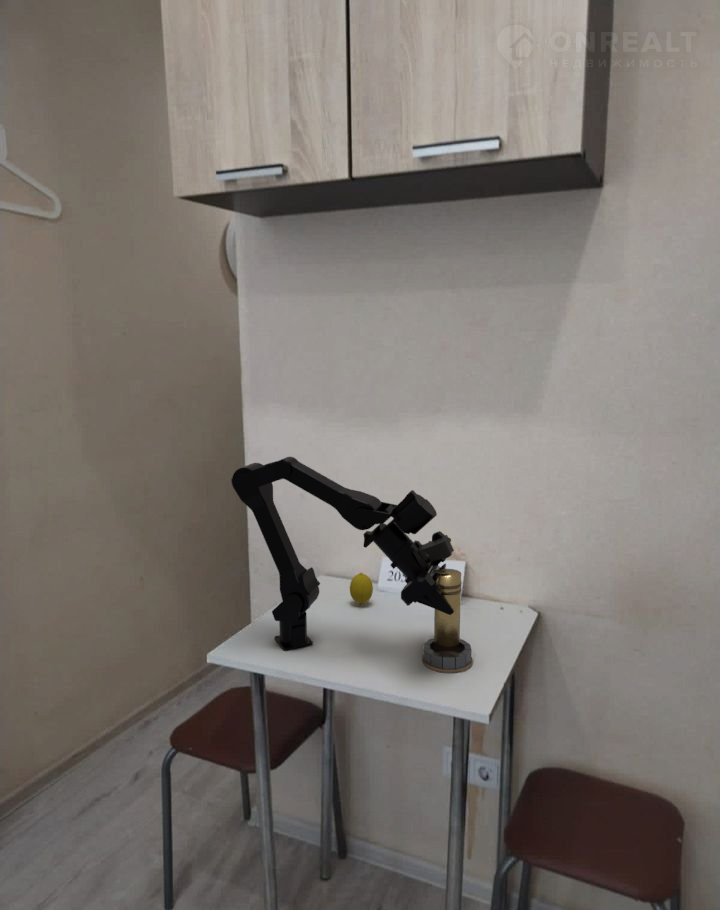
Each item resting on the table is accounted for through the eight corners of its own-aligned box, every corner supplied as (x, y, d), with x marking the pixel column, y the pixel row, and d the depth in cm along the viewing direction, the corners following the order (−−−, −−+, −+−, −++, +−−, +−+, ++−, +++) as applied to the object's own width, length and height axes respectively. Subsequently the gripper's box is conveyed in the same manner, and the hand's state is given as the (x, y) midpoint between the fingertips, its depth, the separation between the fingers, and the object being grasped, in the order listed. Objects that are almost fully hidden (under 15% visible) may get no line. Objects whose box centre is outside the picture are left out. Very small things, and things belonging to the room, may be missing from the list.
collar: (415, 654, 134) (415, 642, 134) (453, 644, 138) (453, 633, 138) (440, 673, 126) (440, 661, 125) (480, 663, 130) (480, 651, 129)
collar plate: (412, 656, 134) (412, 653, 134) (453, 645, 139) (453, 643, 139) (439, 677, 125) (439, 675, 125) (483, 666, 130) (483, 663, 130)
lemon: (359, 598, 165) (359, 567, 164) (377, 603, 162) (377, 572, 160) (345, 605, 161) (344, 573, 160) (363, 610, 157) (362, 578, 156)
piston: (431, 636, 134) (432, 568, 131) (456, 634, 134) (458, 568, 132) (436, 647, 129) (437, 577, 126) (462, 646, 129) (464, 577, 127)
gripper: (419, 535, 120) (479, 600, 119) (437, 511, 138) (489, 567, 136) (376, 573, 123) (434, 637, 122) (399, 545, 141) (450, 600, 140)
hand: (454, 608), depth 130 cm, fingers closed on piston, 5 cm apart
